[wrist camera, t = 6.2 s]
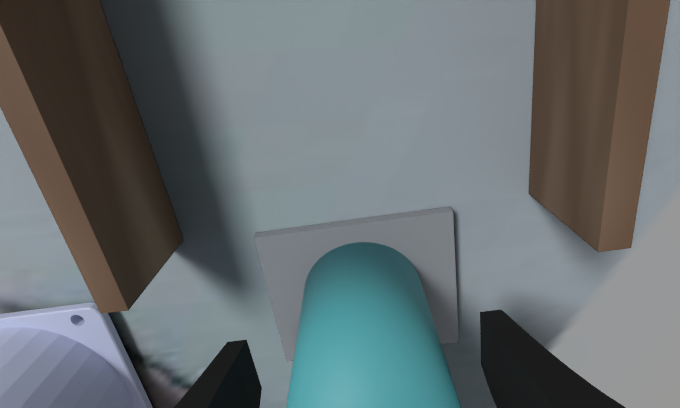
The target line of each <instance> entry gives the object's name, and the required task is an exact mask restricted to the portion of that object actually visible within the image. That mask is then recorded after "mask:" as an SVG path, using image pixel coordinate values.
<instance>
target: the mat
mask: <svg viewBox="0 0 680 408" xmlns="http://www.w3.org/2000/svg"><path fill="white" fill-rule="evenodd" d="M254 241H255V245H256V249H257V253H258V256H259V260H260V264H261V267H262V271H263V275H264V278H265V282H266V286H267V290H268V293H269V297H270V301H271V304H272V308H273V312H274V316H275V319H276V323H277V327H278V330H279V334H280V338H281V341H282V345H283V349H284V353H285V356H286V360H287V362H288V361H294V355H295V348H296V341H297V335H298V328H299V321H300V315H301V308H302V301H303V295H304V288H305V282H306V279H307V276H308V274H309V272H310V270H311V268H312V267H313V265H314V264H315V263H316V262H317V261H318V260H319V259H320V258H321V257H322V256H323V255H325V254H326V253H328V252H329V251H331V250H333V249H335V248H337V247H339V246H343V245H346V244H350V243H356V242H372V243H378V244H382V245H386V246H388V247H391V248H393V249H395V250H397V251H398V252H400V253H401V254H403V255H404V256H405V257H407V259H408V260H409V261H410V262H411V263H412V264H413V266H414V267H415V268H416V270H417V272H418V274H419V277H420V280H421V284H422V287H423V290H424V293H425V296H426V299H427V302H428V306H429V309H430V312H431V315H432V318H433V321H434V324H435V327H436V331H437V334H438V337H439V340H440V343H441V344H449V343H458V342H459V336H458V313H457V290H456V266H455V243H454V220H453V210H452V209H451V207H444V208H436V209H429V210H422V211H414V212H407V213H399V214H392V215H384V216H377V217H370V218H362V219H355V220H347V221H340V222H332V223H325V224H318V225H310V226H303V227H295V228H288V229H280V230H273V231H266V232H258V233H256V234H255V236H254Z"/></svg>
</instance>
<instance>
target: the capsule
mask: <svg viewBox="0 0 680 408" xmlns="http://www.w3.org/2000/svg"><path fill="white" fill-rule="evenodd" d="M287 408H461V406H460V403H459V399H458V396H457V393H456V390H455V387H454V384H453V381H452V377H451V374H450V371H449V368H448V365H447V362H446V359H445V356H444V352H443V349H442V346H441V343H440V340H439V337H438V334H437V331H436V327H435V324H434V321H433V318H432V315H431V312H430V309H429V306H428V302H427V299H426V296H425V293H424V290H423V287H422V284H421V280H420V277H419V274H418V272H417V270H416V268H415V267H414V266H413V264H412V263H411V262H410V261H409V260H408V259H407V257H405V256H404V255H403V254H401V253H400V252H398V251H397V250H395V249H393V248H391V247H388V246H386V245H382V244H378V243H372V242H356V243H350V244H346V245H343V246H339V247H337V248H335V249H333V250H331V251H329V252H328V253H326V254H325V255H323V256H322V257H321V258H320V259H319V260H318V261H317V262H316V263H315V264H314V265H313V267H312V268H311V270H310V272H309V274H308V276H307V279H306V282H305V288H304V295H303V301H302V308H301V315H300V321H299V328H298V335H297V341H296V348H295V355H294V361H293V368H292V374H291V381H290V388H289V394H288V401H287Z"/></svg>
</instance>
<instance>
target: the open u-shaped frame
mask: <svg viewBox="0 0 680 408" xmlns="http://www.w3.org/2000/svg"><path fill="white" fill-rule="evenodd" d="M669 6H670V0H536V22H535V47H534V72H533V98H532V123H531V149H530V174H529V194H530V195H531V196H532V197H534V198H535V199H536V200H537V201H538V202H539V203H541V204H542V205H543V206H544V207H545V208H547V209H548V210H549V211H550V212H551V213H552V214H554V215H555V216H556V217H557V218H558V219H560V220H561V221H562V222H563V223H564V224H565V225H567V226H568V227H569V228H570V229H571V230H573V231H574V232H575V233H576V234H577V235H578V236H580V237H581V238H582V239H583V240H584V241H586V242H587V243H588V244H589V245H590V246H591V247H593V248H594V249H595V250H596V251H597V252H602V251H610V250H619V249H627V248H631V245H632V239H633V232H634V226H635V220H636V213H637V207H638V201H639V195H640V188H641V182H642V176H643V169H644V163H645V157H646V150H647V144H648V138H649V132H650V125H651V119H652V113H653V106H654V100H655V94H656V88H657V81H658V75H659V69H660V62H661V56H662V50H663V43H664V37H665V31H666V25H667V18H668V12H669ZM0 107H1V109H2V111H3V113H4V116H5V118H6V120H7V122H8V124H9V126H10V128H11V130H12V132H13V134H14V136H15V138H16V140H17V142H18V144H19V146H20V149H21V151H22V153H23V155H24V157H25V159H26V161H27V163H28V165H29V167H30V169H31V171H32V173H33V175H34V177H35V179H36V182H37V184H38V186H39V188H40V190H41V192H42V194H43V196H44V198H45V200H46V202H47V204H48V206H49V208H50V210H51V212H52V215H53V217H54V219H55V221H56V223H57V225H58V227H59V229H60V231H61V233H62V235H63V237H64V239H65V241H66V243H67V245H68V248H69V250H70V252H71V254H72V256H73V258H74V260H75V262H76V264H77V266H78V268H79V270H80V272H81V274H82V276H83V278H84V281H85V283H86V285H87V287H88V289H89V291H90V293H91V295H92V297H93V299H94V301H95V303H96V305H97V307H98V309H99V311H100V314H103V313H111V312H119V311H127V310H129V309H130V308H131V306H132V305H133V304H134V303H135V301H136V300H137V299H138V297H139V296H140V295H141V294H142V292H143V291H144V290H145V289H146V287H147V286H148V285H149V283H150V282H151V281H152V280H153V278H154V277H155V276H156V274H157V273H158V272H159V271H160V269H161V268H162V267H163V266H164V264H165V263H166V262H167V260H168V259H169V258H170V257H171V255H172V254H173V253H174V251H175V250H176V249H177V248H178V246H179V245H180V244H181V243H182V241H183V237H182V235H181V232H180V229H179V226H178V223H177V220H176V217H175V215H174V212H173V209H172V206H171V203H170V200H169V198H168V195H167V192H166V189H165V186H164V183H163V180H162V178H161V175H160V172H159V169H158V166H157V163H156V160H155V158H154V155H153V152H152V149H151V146H150V143H149V140H148V138H147V135H146V132H145V129H144V126H143V123H142V120H141V118H140V115H139V112H138V109H137V106H136V103H135V100H134V98H133V95H132V92H131V89H130V86H129V83H128V80H127V78H126V75H125V72H124V69H123V66H122V63H121V61H120V58H119V55H118V52H117V49H116V46H115V43H114V41H113V38H112V35H111V32H110V29H109V26H108V23H107V21H106V18H105V15H104V12H103V9H102V6H101V3H100V1H99V0H0Z"/></svg>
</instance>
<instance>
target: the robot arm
mask: <svg viewBox="0 0 680 408" xmlns="http://www.w3.org/2000/svg"><path fill="white" fill-rule="evenodd" d="M78 315H79V316H81V317H82V318H83V319H82V318H80V317H79V316H78ZM480 325H481V365H482V368H483V371H484V374H485V377H486V380H487V383H488V386H489V389H490V392H491V394H492V397H493V400H494V402H495V404H496V406H497V408H625V407H624V406H622V405H621V404H619V403H618V402H616V401H615V400H613V399H611V398H610V397H608V396H607V395H605V394H604V393H602V392H601V391H600V390H598V389H597V388H595V387H594V386H593V385H591V384H590V383H588V382H587V381H586V380H585V379H583V378H582V377H581V376H579V375H578V374H577V373H575V372H574V371H573V370H571V369H570V368H569V367H567V366H566V365H565V364H564V363H562V362H561V361H560V360H559V359H558V358H556V357H555V356H554V355H553V354H551V353H550V352H549V351H548V350H547V349H545V348H544V347H543V346H542V345H541V344H539V343H538V342H537V341H536V340H535V339H534V338H533V337H531V336H530V335H529V334H528V333H527V332H526V331H525V330H523V329H522V328H521V327H520V326H519V325H518V324H517V323H516V322H515V321H513V320H512V319H511V318H510V317H509V316H508V315H507V314H506V313H505V312H503V311H502V310H494V311H486V312H480ZM261 389H262V388H261V384H260V381H259V378H258V375H257V372H256V369H255V365H254V362H253V359H252V356H251V353H250V349H249V346H248V343H247V340H241V341H233V342H227V343H226V345H225V346H224V347H223V348H222V350H221V351H220V352H219V353H218V355H217V356H216V357H215V358H214V360H213V361H212V362H211V363H210V365H209V366H208V367H207V368H206V370H205V371H204V372H203V373H202V375H201V376H200V377H199V378H198V380H197V381H196V382H195V383H194V385H193V386H192V387H191V388H190V389H189V391H188V392H187V393H186V394H185V395H184V397H183V398H182V399H181V400H180V401H179V403H178V404H177V405H176V406H175V407H174V408H259V406H260V398H261ZM0 408H153V407H152V405H151V403H150V401H149V398H148V396H147V394H146V392H145V390H144V388H143V386H142V384H141V382H140V379H139V377H138V375H137V373H136V371H135V369H134V367H133V365H132V363H131V361H130V358H129V356H128V354H127V352H126V350H125V348H124V346H123V344H122V342H121V340H120V337H119V335H118V333H117V331H116V329H115V327H114V325H113V323H112V321H111V318H110V316H109V314H108V313H103V314H100V311H99V309H98V307H97V305H96V303H83V304H75V305H68V306H60V307H52V308H44V309H36V310H28V311H20V312H12V313H4V314H0Z"/></svg>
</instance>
